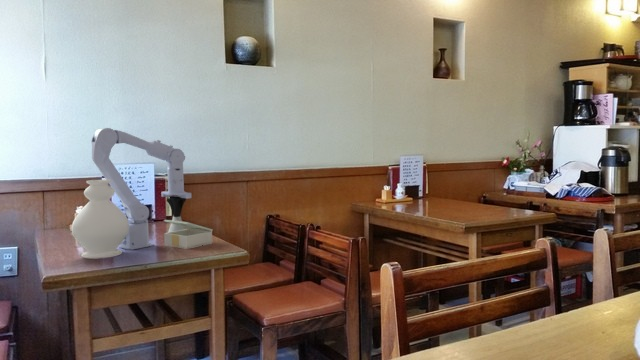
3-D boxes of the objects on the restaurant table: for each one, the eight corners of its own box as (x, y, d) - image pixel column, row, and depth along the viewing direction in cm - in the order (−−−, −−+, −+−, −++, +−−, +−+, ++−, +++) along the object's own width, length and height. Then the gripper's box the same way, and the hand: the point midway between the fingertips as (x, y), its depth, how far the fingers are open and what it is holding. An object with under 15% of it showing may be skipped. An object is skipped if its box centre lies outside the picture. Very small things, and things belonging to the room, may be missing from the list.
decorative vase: (113, 247, 188) (110, 177, 186) (140, 253, 177) (137, 179, 175) (63, 255, 174) (59, 181, 172) (89, 263, 163) (85, 183, 161)
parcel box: (186, 249, 182) (186, 236, 182) (164, 245, 189) (163, 233, 189) (212, 243, 192) (211, 231, 192) (190, 240, 199) (189, 228, 199)
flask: (175, 235, 210) (174, 210, 209) (164, 233, 214) (163, 209, 214) (190, 232, 216) (189, 208, 215) (179, 231, 220) (178, 207, 219)
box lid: (187, 223, 182) (187, 221, 182) (164, 221, 189) (164, 219, 189) (212, 231, 192) (212, 229, 192) (189, 228, 199) (189, 226, 199)
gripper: (197, 180, 194) (198, 216, 195) (171, 179, 202) (172, 214, 203) (182, 181, 188) (183, 219, 189) (156, 180, 196) (157, 216, 197)
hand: (176, 216), depth 195 cm, fingers closed
